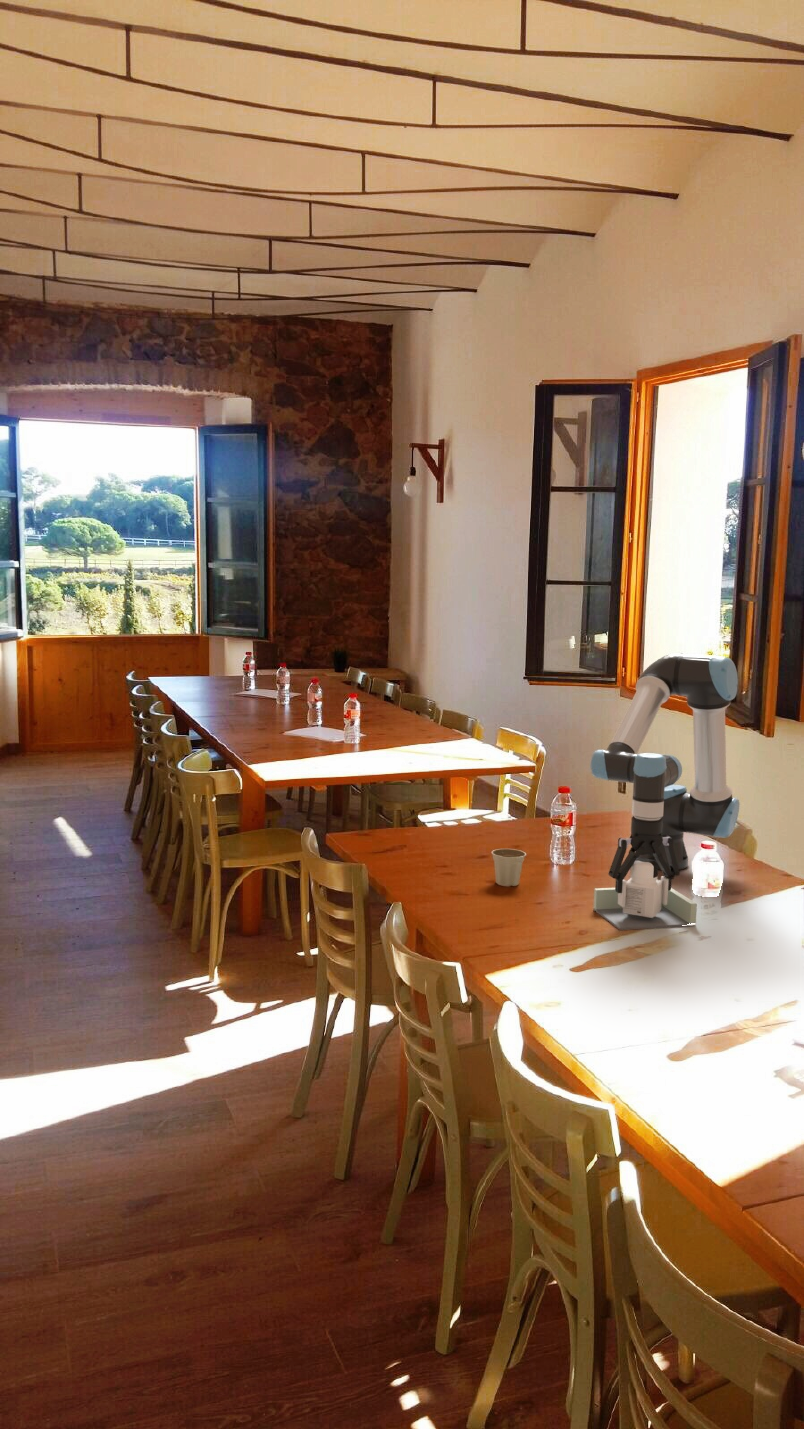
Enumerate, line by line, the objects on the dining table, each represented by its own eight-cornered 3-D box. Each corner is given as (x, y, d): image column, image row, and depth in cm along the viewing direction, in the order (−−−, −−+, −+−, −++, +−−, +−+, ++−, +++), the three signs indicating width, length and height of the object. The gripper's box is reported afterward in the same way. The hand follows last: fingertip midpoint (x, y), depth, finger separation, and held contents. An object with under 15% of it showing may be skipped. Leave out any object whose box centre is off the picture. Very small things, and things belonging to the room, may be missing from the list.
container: (631, 905, 288) (633, 855, 286) (661, 910, 284) (664, 859, 282) (622, 913, 281) (624, 861, 279) (653, 918, 278) (656, 866, 276)
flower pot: (524, 879, 315) (526, 849, 314) (525, 889, 306) (526, 858, 305) (490, 878, 316) (491, 847, 315) (489, 887, 307) (491, 856, 306)
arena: (665, 906, 294) (666, 885, 293) (695, 925, 279) (696, 903, 278) (593, 909, 289) (594, 888, 289) (619, 930, 274) (620, 907, 273)
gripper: (683, 812, 286) (678, 897, 289) (597, 814, 280) (592, 901, 283) (697, 818, 278) (692, 906, 281) (609, 821, 273) (605, 911, 276)
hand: (642, 904), depth 282 cm, fingers closed on container, 10 cm apart
